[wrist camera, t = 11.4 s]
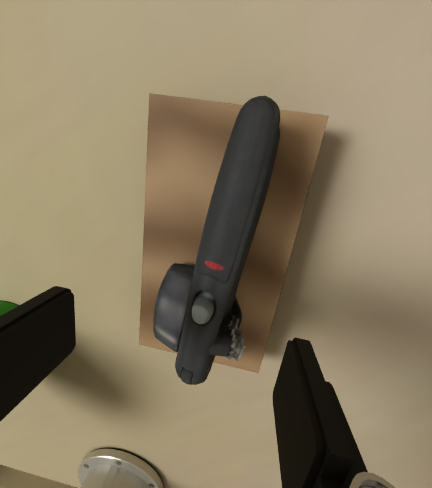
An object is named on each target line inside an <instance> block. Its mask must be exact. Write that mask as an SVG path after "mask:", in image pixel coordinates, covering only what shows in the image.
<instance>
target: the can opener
mask: <svg viewBox="0 0 432 488" xmlns="http://www.w3.org/2000/svg"><path fill="white" fill-rule="evenodd" d="M279 124H280V110H279V107H278V105H277V104H276V103H275V102H274V101H273V100H272V99H271V98H269V97H267V96H258V97H255V98H252V99H250V100H249V101H248V102H246V103H245V104H244V105H243V107H242V108H241V109H240V111H239V114H238V116H237V118H236V121H235V124H234V127H233V130H232V132H231V135H230V138H229V142H228V144H227V148H226V151H225V154H224V157H223V160H222V164H221V167H220V170H219V173H218V176H217V180H216V183H215V187H214V191H213V194H212V197H211V201H210V205H209V209H208V212H207V216H206V220H205V224H204V228H203V232H202V237H201V241H200V245H199V250H198V254H197V259H196V264H195V266H192V265H186V264H179V263H174V264H172V265H171V266H170V268H169V269H168V271H167V273H166V275H165V277H164V279H163V281H162V283H161V286H160V288H159V291H158V295H157V298H156V302H155V309H154V318H153V331H154V335H155V338H157V339H158V340H159V341H160V342H162V343H163V344H165V345H166V346H167V347H168V348H170V349H171V350H173V351H175V352H178V354H177V358H176V363H175V368H176V372H177V374H178V376H179V377H180V378H181V380H182V381H183V382H184V383H186V384H189V385H191V384H194V385H196V384H199V383H202V382H204V381H205V380H206V379H207V376H208V374H209V371H210V370H211V366H212V363H213V361H214V359H215V356H225V357H226V358H228V360H230V359H231V358H233V357H234V358H235V359H236V361H239V360H240V359H241V357H242V355H243V349H245V348H246V346H245V345H244V340H243V334H242V331H241V330H240V329H239V326H240V324H241V321H242V312H241V308H240V306H239V304H238V301H237V299H236V291H237V288H238V284H239V280H240V277H241V274H242V270H243V268H244V264H245V261H246V259H247V256H248V253H249V250H250V246H251V243H252V241H253V238H254V234H255V231H256V228H257V225H258V222H259V218H260V215H261V212H262V208H263V205H264V202H265V198H266V194H267V191H268V187H269V183H270V179H271V175H272V171H273V168H274V163H275V159H276V154H277V150H278V144H279V140H280V128H279Z"/></svg>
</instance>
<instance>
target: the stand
mask: <svg viewBox="0 0 432 488" xmlns="http://www.w3.org/2000/svg"><path fill="white" fill-rule="evenodd" d="M242 107H243V105H238V104H230V103H222V102H214V101H206V100H198V99H190V98H182V97H174V96H166V95H158V94H150V93H149V117H148V141H147V166H146V190H145V214H144V238H143V262H142V287H141V311H140V335H139V344H140V345H144V346H148V347H152V348H156V349H160V350H165V351H169V352H173V353H177V354H178V352H175V351H173V350H171V349H170V348H168V347H167V346H166V345H165V344H163V343H162V342H160V341H159V340H158V339H157V338H155V335H154V331H153V318H154V309H155V302H156V298H157V295H158V291H159V288H160V286H161V283H162V281H163V279H164V277H165V275H166V273H167V271H168V269H169V268H170V266H171V265H172V264H174V263H179V264H186V265H192V266H195V264H196V259H197V254H198V250H199V245H200V241H201V237H202V232H203V228H204V224H205V220H206V216H207V212H208V209H209V205H210V201H211V197H212V194H213V191H214V187H215V183H216V180H217V176H218V173H219V170H220V167H221V164H222V160H223V157H224V154H225V151H226V148H227V144H228V142H229V138H230V135H231V132H232V130H233V127H234V124H235V121H236V118H237V116H238V114H239V111H240V109H241V108H242ZM328 117H329V116H326V115H318V114H310V113H302V112H294V111H286V110H280V124H279V128H280V140H279V144H278V150H277V154H276V159H275V163H274V168H273V171H272V175H271V179H270V183H269V187H268V191H267V194H266V198H265V202H264V205H263V208H262V212H261V215H260V218H259V222H258V225H257V228H256V231H255V234H254V238H253V241H252V243H251V246H250V250H249V253H248V256H247V259H246V261H245V264H244V268H243V270H242V274H241V277H240V280H239V284H238V288H237V291H236V299H237V301H238V304H239V306H240V308H241V312H242V321H241V324H240V326H239V329H240V330H241V331H242V334H243V340H244V345H245V346H246V348H245V349H243V355H242V357H241V359H240V360H239V361H236V359H235V358H234V357H233V358H231V359H230V360H228V358H226V357H225V356H215V359H214V361H213V362H215V363H219V364H223V365H227V366H231V367H236V368H240V369H244V370H248V371H252V372H256V373H259V370H260V366H261V362H262V359H263V355H264V351H265V348H266V344H267V340H268V337H269V333H270V329H271V326H272V322H273V318H274V315H275V311H276V307H277V304H278V300H279V296H280V293H281V289H282V285H283V282H284V278H285V274H286V271H287V267H288V263H289V260H290V256H291V252H292V249H293V245H294V241H295V238H296V234H297V230H298V227H299V223H300V219H301V216H302V212H303V208H304V205H305V201H306V197H307V194H308V190H309V186H310V183H311V179H312V175H313V172H314V168H315V164H316V161H317V157H318V153H319V150H320V146H321V143H322V139H323V135H324V132H325V128H326V124H327V121H328Z"/></svg>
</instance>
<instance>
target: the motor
mask: <svg viewBox="0 0 432 488" xmlns="http://www.w3.org/2000/svg"><path fill="white" fill-rule="evenodd" d="M16 307H18V306H17V305H15V304H12V303H9V302H5V301H0V316H1V315H3V314H5V313H7V312H8V311H10V310H12V309H14V308H16Z"/></svg>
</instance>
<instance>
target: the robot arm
mask: <svg viewBox="0 0 432 488" xmlns="http://www.w3.org/2000/svg"><path fill="white" fill-rule="evenodd" d="M75 344H76V338H75V312H74V295H73V293H71V290H70V289H67V288H63V287H58V286H55V287H52V288H50V289H49V290H47V291H45V292H43V293H41V294H39V295H38V296H36V297H34V298H32V299H30V300H29V301H27V302H25V303H23V304H21V305H19V306H18V307H16V308H14V309H12V310H10V311H8V312H7V313H5V314H3V315H1V316H0V421H1V420H2V419H3V418H4V417H5V416H6V415H8V414H9V413H10V412H11V411H12V410H13V409H14V408H15V407H16V406H17V405H18V404H19V403H20V402H21V401H22V400H23V399H24V398H25V397H26V396H27V395H28V394H29V393H30V392H31V391H32V390H33V389H34V388H35V387H36V386H37V385H38V384H39V383H40V382H41V381H42V380H43V379H44V378H45V377H47V376H48V375H49V374H50V373H51V372H52V371H53V370H54V369H55V368H56V367H57V366H58V365H59V364H60V363H61V362H62V361H63V360H64V359H65V358H66V357H67V356H68V355H69V354H70V353H71V352H72V351H73V349H74V347H75ZM273 407H274V416H275V426H276V435H277V444H278V453H279V462H280V471H281V480H282V488H395V487H394V486H393V485H391V484H390V483H389V482H387V481H386V480H385V479H383V478H382V477H380V476H378V475H375V474H373V473H369V472H368V471H367V469H366V467H365V464H364V462H363V459H362V457H361V454H360V452H359V449H358V447H357V444H356V442H355V440H354V437H353V435H352V432H351V430H350V427H349V425H348V422H347V420H346V418H345V415H344V413H343V410H342V408H341V405H340V403H339V400H338V398H337V396H336V393H335V391H334V388H333V386H332V385H331V384H330V383H329V382H326V381H325V379H324V377H323V374H322V372H321V369H320V366H319V364H318V361H317V358H316V356H315V353H314V351H313V348H312V345H311V343H310V341H308V340H304V339H299V338H294V339H293V341H290V340H289V341H288V343H287V346H286V350H285V353H284V356H283V360H282V363H281V367H280V370H279V373H278V377H277V380H276V384H275V387H274V391H273ZM78 478H79V480H80V483H81V487H80V488H163V483H162V481H161V479H160V477H159V476H158V474H157V473H156V471H155V470H154V469H153V468H152V467H151V466H150V465H148V464H147V463H146V462H144V461H143V460H141V459H140V458H138V457H136V456H134V455H132V454H129V453H127V452H124V451H120V450H115V449H98V450H95V451H92V452H90V453H88V454H87V455H86V456H85V457H84V459H83V461H82V462H81V464H80V466H79V469H78ZM0 488H77V487H73V486H70V485H67V484H63V483H60V482H57V481H53V480H50V479H47V478H43V477H40V476H37V475H33V474H30V473H26V472H23V471H20V470H16V469H13V468H10V467H6V466H3V465H0Z"/></svg>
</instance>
